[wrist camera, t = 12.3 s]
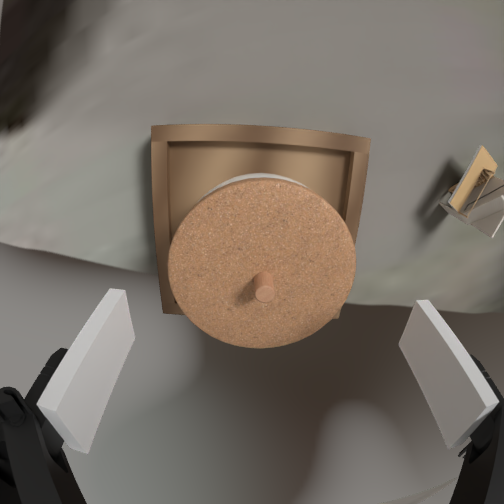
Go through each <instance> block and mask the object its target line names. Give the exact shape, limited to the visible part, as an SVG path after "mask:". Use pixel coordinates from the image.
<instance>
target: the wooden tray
mask: <svg viewBox="0 0 504 504" xmlns="http://www.w3.org/2000/svg"><path fill="white" fill-rule="evenodd" d="M370 141H371V139H370V138H365V137H359V136H353V135H346V134H339V133H332V132H324V131H316V130H306V129H296V128H285V127H272V126H256V125H231V124H179V125H156V126H151V169H152V198H153V217H154V232H155V245H156V256H157V266H158V276H159V285H160V293H161V301H162V309H163V313H166V314H179V315H185V314H184V313H183V311H182V310H181V308H180V307H179V305H178V303H177V302H176V300H175V298H174V295H173V293H172V291H171V287H170V283H169V279H168V268H167V261H168V254H169V248H170V245H171V242H172V239H173V236H174V234H175V232H176V230H177V228H178V226H179V225H180V223H181V221H182V219H183V218H184V217H185V216H186V214H187V213H188V212H189V211H190V209H191V208H192V207H193V206H194V205H195V204H196V203H197V202H198V201H199V200H200V199H201V198H202V197H203V196H204V195H205V194H206V193H208V192H209V191H210V190H211V189H213V188H215V187H216V186H218V185H219V184H221V183H223V182H225V181H227V180H229V179H232V178H234V177H237V176H241V175H246V174H254V173H268V174H276V175H280V176H284V177H287V178H290V179H292V180H295V181H297V182H299V183H302V184H303V185H305V186H306V187H308V188H309V189H311V190H312V191H314V192H315V193H317V194H318V195H320V196H321V197H323V198H324V199H325V200H326V201H327V202H328V203H329V204H330V205H331V206H332V207H333V208H334V209H335V210H336V211H337V212H338V213H339V215H340V216H341V218H342V219H343V220H344V222H345V223H346V225H347V227H348V229H349V232H350V234H351V236H352V239H353V243H354V247H355V243H356V237H357V232H358V227H359V221H360V215H361V209H362V203H363V196H364V189H365V182H366V175H367V167H368V159H369V150H370ZM340 310H341V308H340ZM340 310H339V311H338V312H337V313H336V314H335V315H334V317H333V318H332V319H337V318H339V314H340Z"/></svg>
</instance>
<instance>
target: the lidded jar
mask: <svg viewBox="0 0 504 504" xmlns="http://www.w3.org/2000/svg"><path fill="white" fill-rule="evenodd" d="M167 268H168V279H169V283H170V287H171V291H172V293H173V295H174V298H175V300H176V302H177V303H178V305H179V307H180V308H181V310H182V311H183V313H184V314H185V315H186V316H187V317H188V318H189V319H190V321H191V322H192V323H194V324H195V325H196V326H197V327H199V328H200V329H201V330H202V331H204V332H205V333H207V334H209V335H210V336H212V337H214V338H216V339H218V340H221V341H223V342H226V343H229V344H232V345H235V346H241V347H247V348H271V347H277V346H283V345H287V344H290V343H293V342H296V341H299V340H301V339H303V338H305V337H308V336H310V335H311V334H313V333H314V332H316V331H317V330H319V329H320V328H322V327H323V326H324V325H325V324H326V323H327V322H329V321H330V320H331V319H332V318H333V317H334V315H335V314H336V313H337V312H338V311H339V310H340V308H341V307H342V305H343V304H344V302H345V300H346V299H347V297H348V294H349V292H350V290H351V288H352V284H353V280H354V277H355V269H356V254H355V247H354V243H353V239H352V236H351V234H350V232H349V229H348V227H347V225H346V223H345V222H344V220H343V219H342V218H341V216H340V215H339V213H338V212H337V211H336V210H335V209H334V208H333V207H332V206H331V205H330V204H329V203H328V202H327V201H326V200H325V199H324V198H323V197H321V196H320V195H318V194H317V193H315V192H314V191H312V190H311V189H309V188H308V187H306V186H305V185H303V184H302V183H299V182H297V181H295V180H292V179H290V178H287V177H284V176H280V175H276V174H268V173H254V174H246V175H241V176H237V177H234V178H232V179H229V180H227V181H225V182H223V183H221V184H219V185H218V186H216V187H215V188H213V189H211V190H210V191H209V192H208V193H206V194H205V195H204V196H203V197H202V198H201V199H200V200H199V201H198V202H197V203H196V204H195V205H194V206H193V207H192V208H191V209H190V211H189V212H188V213H187V214H186V216H185V217H184V218H183V219H182V221H181V223H180V225H179V226H178V228H177V230H176V232H175V234H174V236H173V239H172V242H171V245H170V248H169V254H168V261H167Z"/></svg>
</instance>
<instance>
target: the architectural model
mask: <svg viewBox="0 0 504 504" xmlns="http://www.w3.org/2000/svg"><path fill="white" fill-rule="evenodd" d="M496 168H497V164H496V163H495V161H494V160H493V159H492V157H491V156H490V154H489V153H488V152H487V150H486V149H485V148H484V146H483V145H479V147H478V149H477V151H476V153H475V155H474V157H473V159H472V161H471V162H470V163H469V166H468V168H467V170H466V171H465V173H464V175H463V177H462V179H461V180H460V182H459V183H457V184H456V185H454V186H452V187H450V189H449V190H448V191H449V192H451V193H452V195H451V197H450V199H449V200H448V203H449V204H450V205H451V206H452V207H451V208H450V207H448V206H446V205H444V204H443V203H441V202H440V203H439V204H440V205H441V206H442V207H443V208H444V209H445V210H446V211H447V212H448V213H449V214H451V215H453V216H454V217H456V218H458V219H459V220H461V221H463V222H464V223H466V224H467V225H469V224H471V225H472V226H474V227H475V228H477V229H479V230H480V231H482V232H483V233H485V234H486V235H488V236H489V237H491V238H493V236H494V235H495V233H496V231H497V229H498V228H499V226H500V224H501V223H502V221H503V219H504V180H501V179H499V178H496V177H494V176H493V174H495V170H496Z"/></svg>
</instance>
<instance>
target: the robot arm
mask: <svg viewBox="0 0 504 504" xmlns="http://www.w3.org/2000/svg"><path fill="white" fill-rule="evenodd" d="M134 340H135V334H134V330H133V326H132V321H131V317H130V312H129V307H128V302H127V297H126V292H125V290H120V289H109V291H108V292H107V294H106V295H105V296H104V298H103V299H102V300H101V302H100V303H99V305H98V306H97V308H96V309H95V310H94V312H93V313H92V315H91V316H90V318H89V319H88V321H87V322H86V324H85V325H84V327H83V328H82V330H81V331H80V333H79V334H78V336H77V337H76V339H75V340H74V342H73V344H72V345H71V347H70V348H69V349H64V348H60V349H59V350H58V351H56V352H55V353H54V354H52V356H51V357H50V359H49V360H48V362H47V363H46V365H45V367H44V368H43V369H42V371H41V374H40V375H39V376H38V377H37V379H36V380H35V382H34V384H33V386H32V387H31V389H30V390H29V392H28V394H27V396H26V397H25V399H23V397H22V396H21V394H20V393H19V391H17V390H16V389H15V388H12V387H3V388H1V389H0V504H87V503H86V501H85V499H84V497H83V495H82V493H81V491H80V489H79V487H78V484H77V482H76V480H75V478H74V475H73V473H72V471H71V468H70V466H69V463H68V461H67V458H66V455H65V453H64V451H63V449H62V448H61V447H62V445H63V442H64V441H65V442H66V444H67V445H68V446H69V447H70V448H71V449H74V450H76V451H79V452H82V453H85V454H88V453H89V450H90V448H91V445H92V442H93V440H94V437H95V434H96V432H97V429H98V426H99V424H100V421H101V418H102V416H103V413H104V411H105V408H106V406H107V403H108V401H109V398H110V396H111V393H112V391H113V388H114V386H115V384H116V381H117V379H118V376H119V374H120V372H121V369H122V367H123V365H124V362H125V360H126V358H127V356H128V353H129V351H130V349H131V347H132V344H133V342H134ZM399 347H400V349H401V351H402V352H403V354H404V356H405V358H406V360H407V362H408V364H409V366H410V368H411V370H412V372H413V374H414V376H415V378H416V380H417V382H418V384H419V386H420V388H421V390H422V392H423V394H424V396H425V398H426V400H427V403H428V405H429V407H430V409H431V411H432V413H433V415H434V418H435V420H436V422H437V424H438V427H439V429H440V431H441V434H442V436H443V438H444V441H445V443H446V446H447V448H448V449H450V448H453V447H456V446H458V445H461V444H462V443H463V442H464V441H465V440H466V439H467V438H468V437H469V436H470V438H471V440H472V441H471V442H470V443H469V444H468V445H467V446H466V447H465V448H464V449H463V450H462V451H461V452H460V453H459V455H458V456H459V457H460V456H461V455H462V454H463V453H464V452H466V455H464V457H463V458H464V462H463V465H462V469H461V472H460V475H459V478H458V482H457V484H456V487H455V490H454V493H453V496H452V498H451V501H450V503H449V504H504V398H503V397H502V395H501V394H500V392H499V390H498V389H497V387H496V386H495V384H494V382H493V381H492V379H491V378H489V377H490V376H489V375H488V373H487V372H485V369H484V367H483V366H482V364H481V363H480V361H478V360H477V359H476V358H475V357H474V356H472V355H469V354H468V352H467V351H466V350H465V348H464V347H463V345H462V344H461V343H460V341H459V340H458V338H457V337H456V336H455V335H454V333H453V332H452V330H451V329H450V327H449V326H448V325H447V324H446V322H445V321H444V320H443V318H442V317H441V316H440V314H439V313H438V312H437V310H436V309H435V308H434V307H433V305H432V304H431V303H430V302H429V300H416V301H415V304H414V307H413V309H412V312H411V315H410V317H409V320H408V322H407V325H406V328H405V330H404V332H403V335H402V337H401V339H400V342H399Z"/></svg>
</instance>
